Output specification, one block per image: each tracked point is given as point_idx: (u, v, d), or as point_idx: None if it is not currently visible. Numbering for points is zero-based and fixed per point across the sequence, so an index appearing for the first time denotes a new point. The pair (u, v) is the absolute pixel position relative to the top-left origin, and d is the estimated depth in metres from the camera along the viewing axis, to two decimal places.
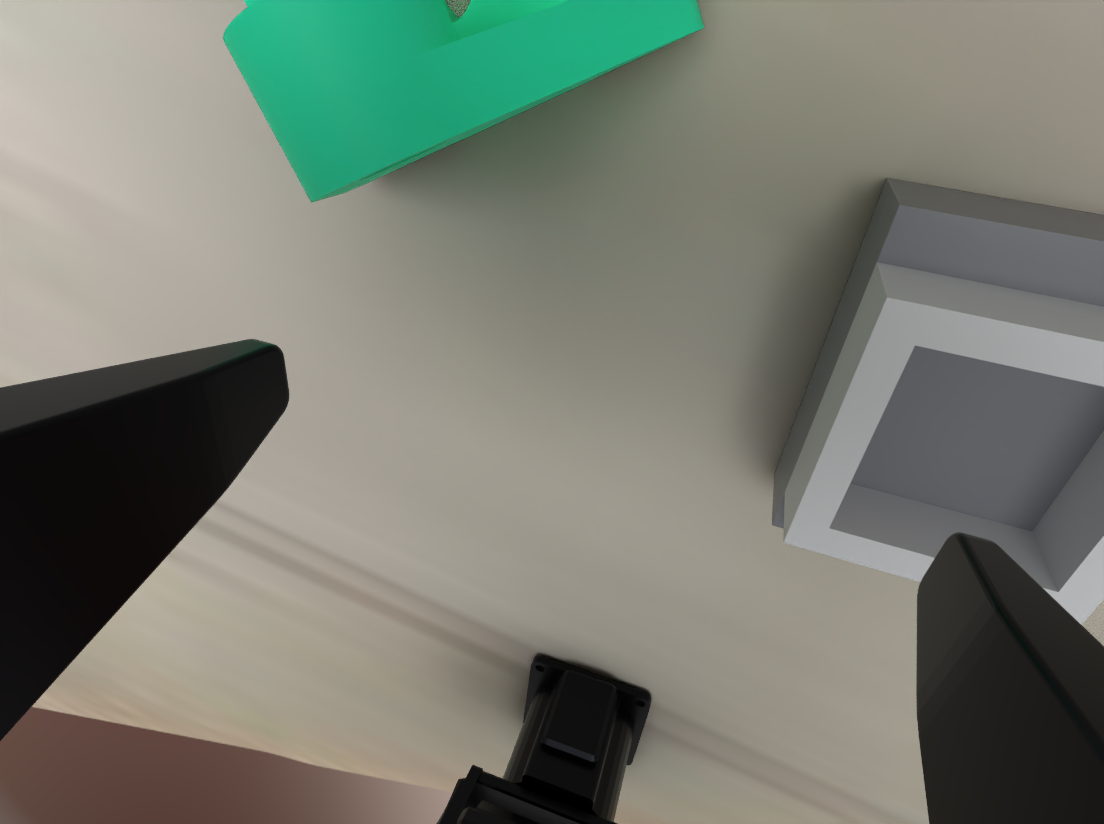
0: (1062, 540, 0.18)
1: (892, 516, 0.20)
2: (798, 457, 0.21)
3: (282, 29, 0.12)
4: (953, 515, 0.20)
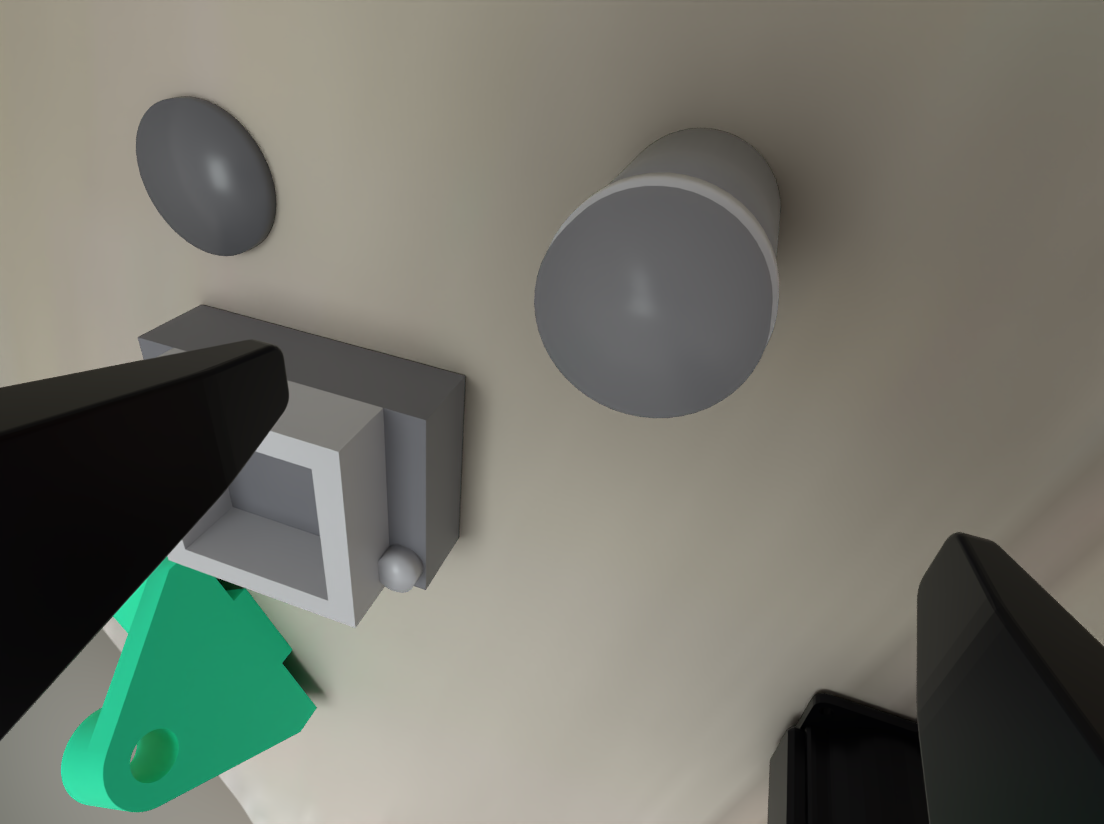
0: None
1: None
2: None
3: (75, 794, 0.29)
4: None
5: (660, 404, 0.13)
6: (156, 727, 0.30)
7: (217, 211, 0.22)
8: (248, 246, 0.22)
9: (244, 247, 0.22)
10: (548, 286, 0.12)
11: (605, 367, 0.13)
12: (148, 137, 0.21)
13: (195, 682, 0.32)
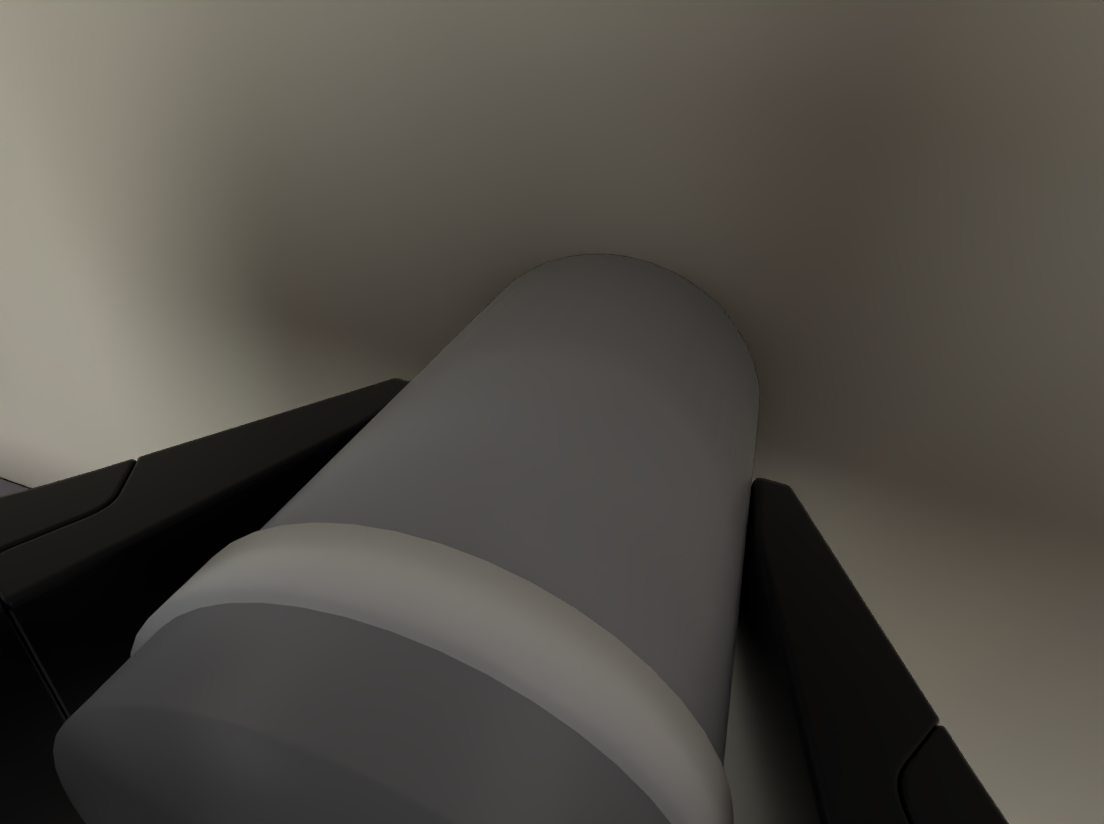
0: None
1: None
2: None
3: None
4: None
5: None
6: None
7: None
8: None
9: None
10: (95, 809, 0.04)
11: None
12: None
13: None
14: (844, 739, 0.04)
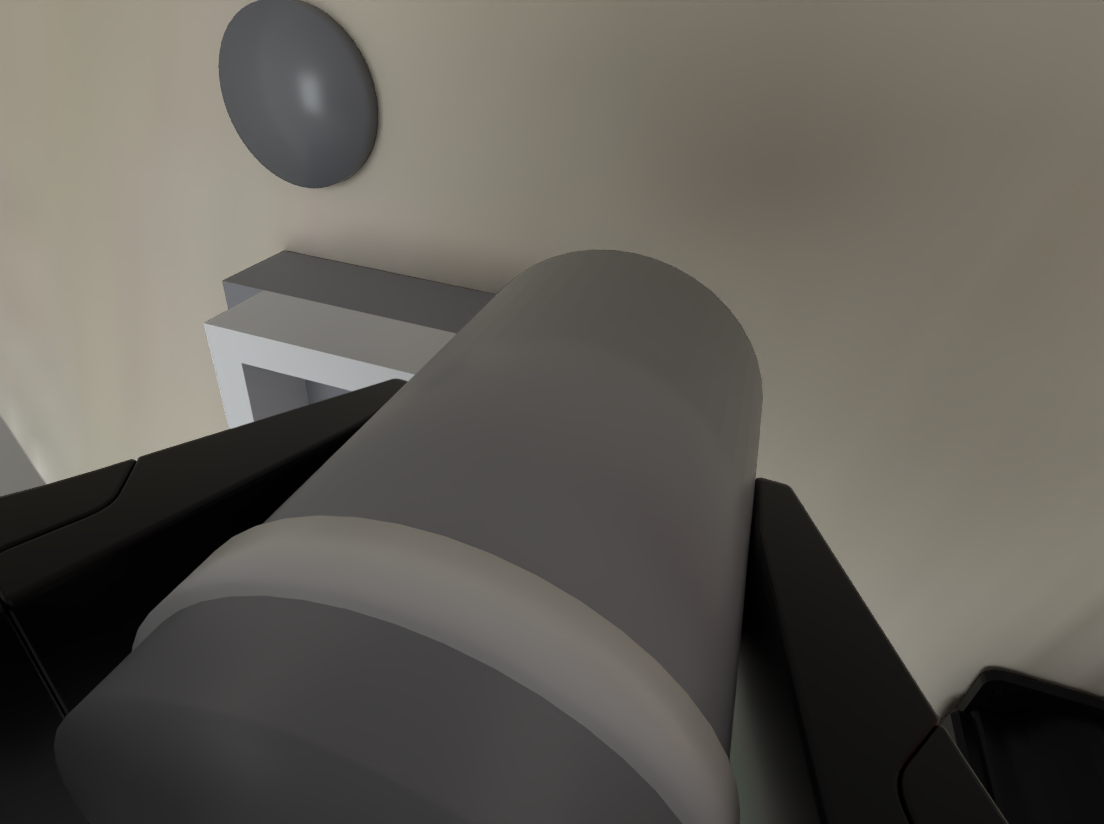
0: None
1: None
2: None
3: None
4: None
5: None
6: None
7: (304, 137, 0.20)
8: (332, 182, 0.20)
9: (327, 182, 0.20)
10: (96, 805, 0.04)
11: None
12: (239, 36, 0.19)
13: None
14: (844, 739, 0.04)
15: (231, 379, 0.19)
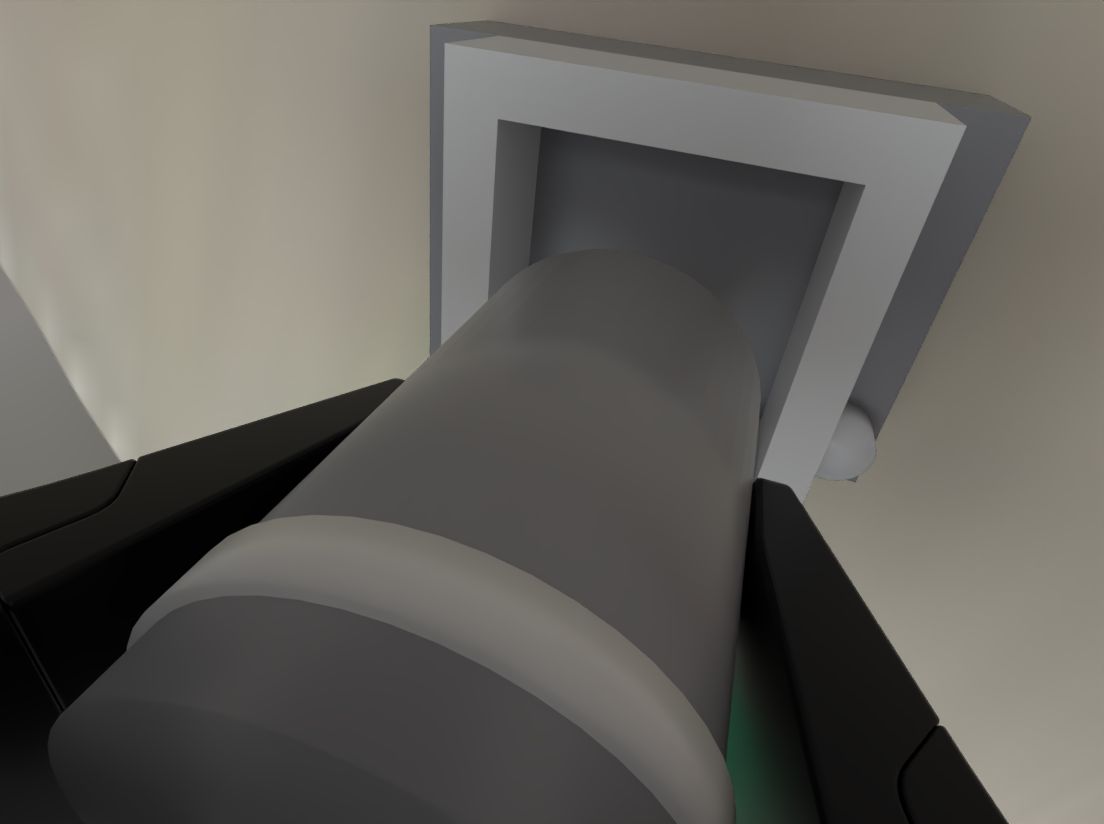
0: None
1: (784, 373, 0.13)
2: None
3: None
4: (813, 273, 0.13)
5: None
6: None
7: None
8: None
9: None
10: (91, 805, 0.04)
11: None
12: None
13: None
14: (844, 739, 0.04)
15: (471, 153, 0.12)
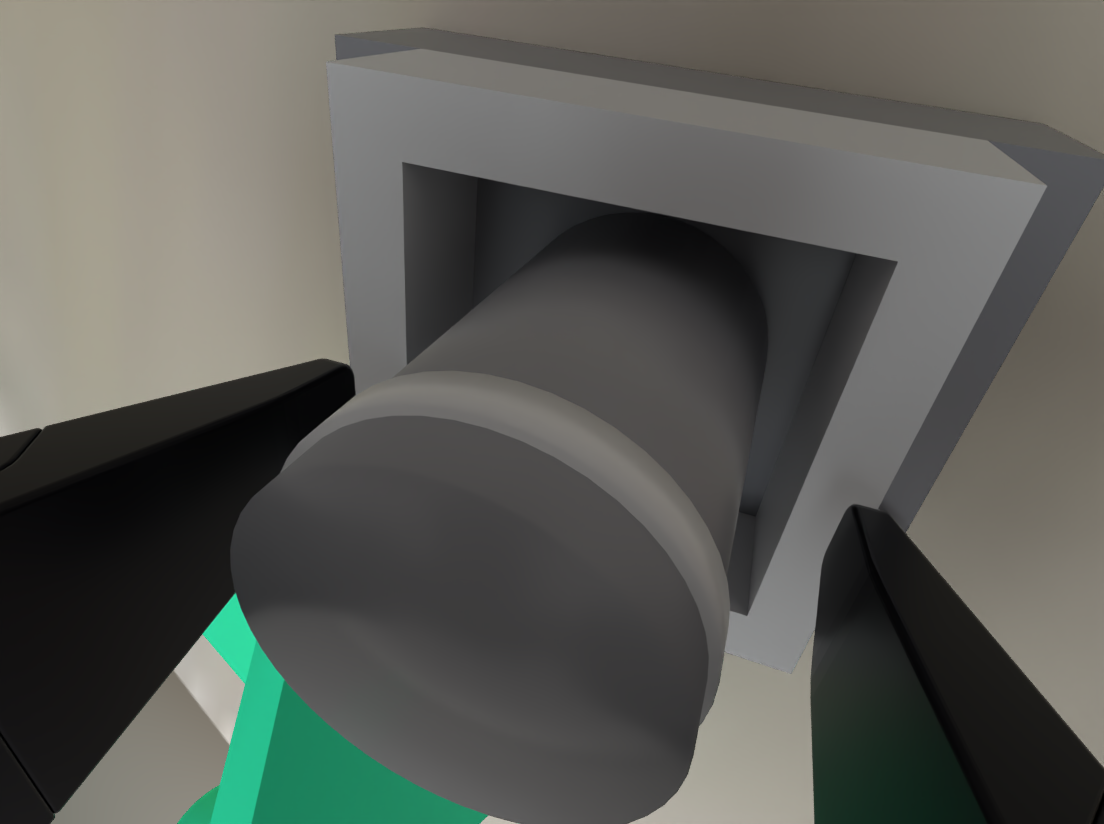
0: None
1: (784, 475, 0.11)
2: None
3: None
4: (821, 352, 0.10)
5: (496, 801, 0.07)
6: None
7: None
8: None
9: None
10: (254, 587, 0.06)
11: (387, 726, 0.07)
12: None
13: None
14: (1024, 801, 0.04)
15: (372, 206, 0.09)
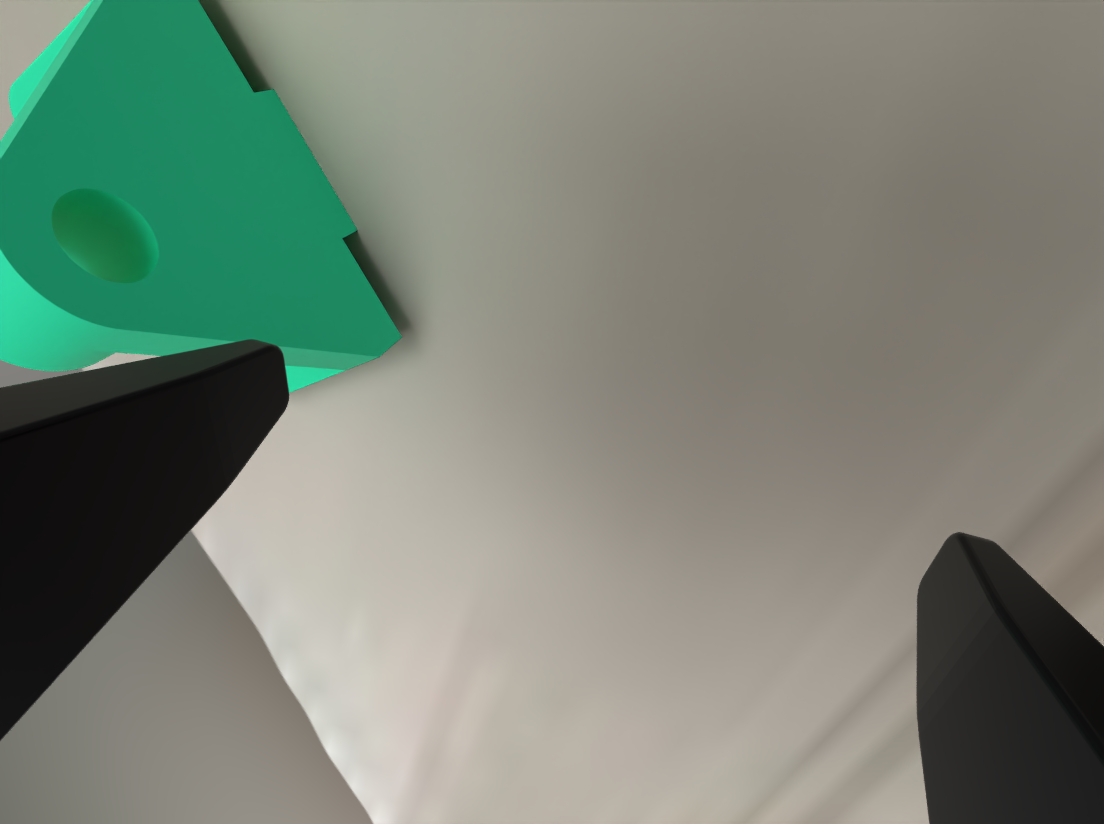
0: None
1: None
2: None
3: None
4: None
5: None
6: (110, 190, 0.15)
7: None
8: None
9: None
10: None
11: None
12: None
13: (188, 167, 0.17)
14: None
15: None
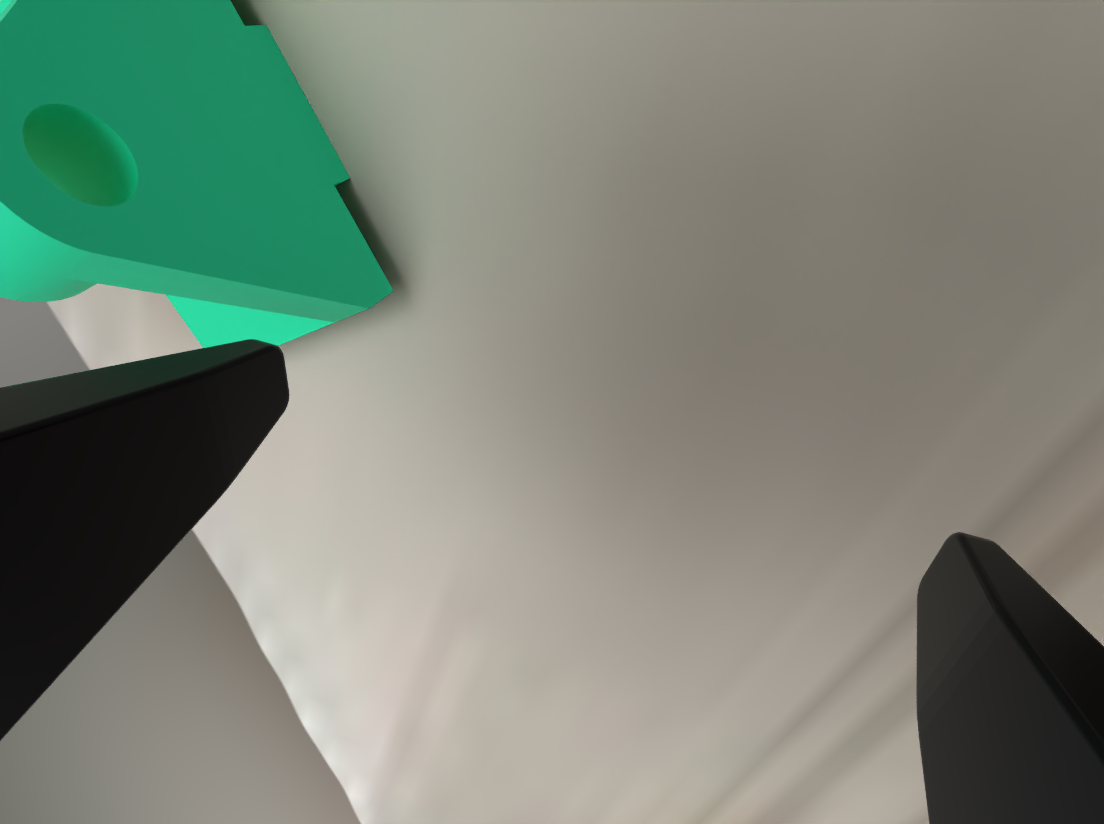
0: None
1: None
2: None
3: None
4: None
5: None
6: (87, 109, 0.14)
7: None
8: None
9: None
10: None
11: None
12: None
13: (172, 94, 0.16)
14: None
15: None
